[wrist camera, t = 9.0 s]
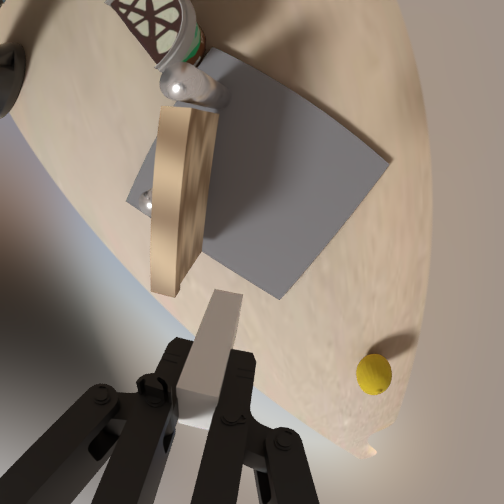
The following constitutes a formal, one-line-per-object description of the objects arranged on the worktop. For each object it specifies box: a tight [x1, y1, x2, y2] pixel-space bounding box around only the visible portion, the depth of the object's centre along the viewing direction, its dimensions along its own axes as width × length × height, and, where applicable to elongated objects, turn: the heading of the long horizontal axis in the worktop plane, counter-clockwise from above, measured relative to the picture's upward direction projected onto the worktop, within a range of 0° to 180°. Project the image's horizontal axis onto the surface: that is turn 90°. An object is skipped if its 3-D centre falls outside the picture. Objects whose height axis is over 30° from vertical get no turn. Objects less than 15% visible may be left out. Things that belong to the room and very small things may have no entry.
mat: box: [126, 47, 389, 300], centre depth 32 cm, size 24×22×1 cm
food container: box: [104, 0, 206, 73], centre depth 21 cm, size 12×6×10 cm, turn 34°
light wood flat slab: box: [150, 106, 219, 298], centre depth 26 cm, size 16×2×10 cm, turn 171°
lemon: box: [356, 354, 392, 395], centre depth 38 cm, size 6×6×8 cm
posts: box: [139, 62, 231, 216], centre depth 25 cm, size 3×14×13 cm, turn 157°
